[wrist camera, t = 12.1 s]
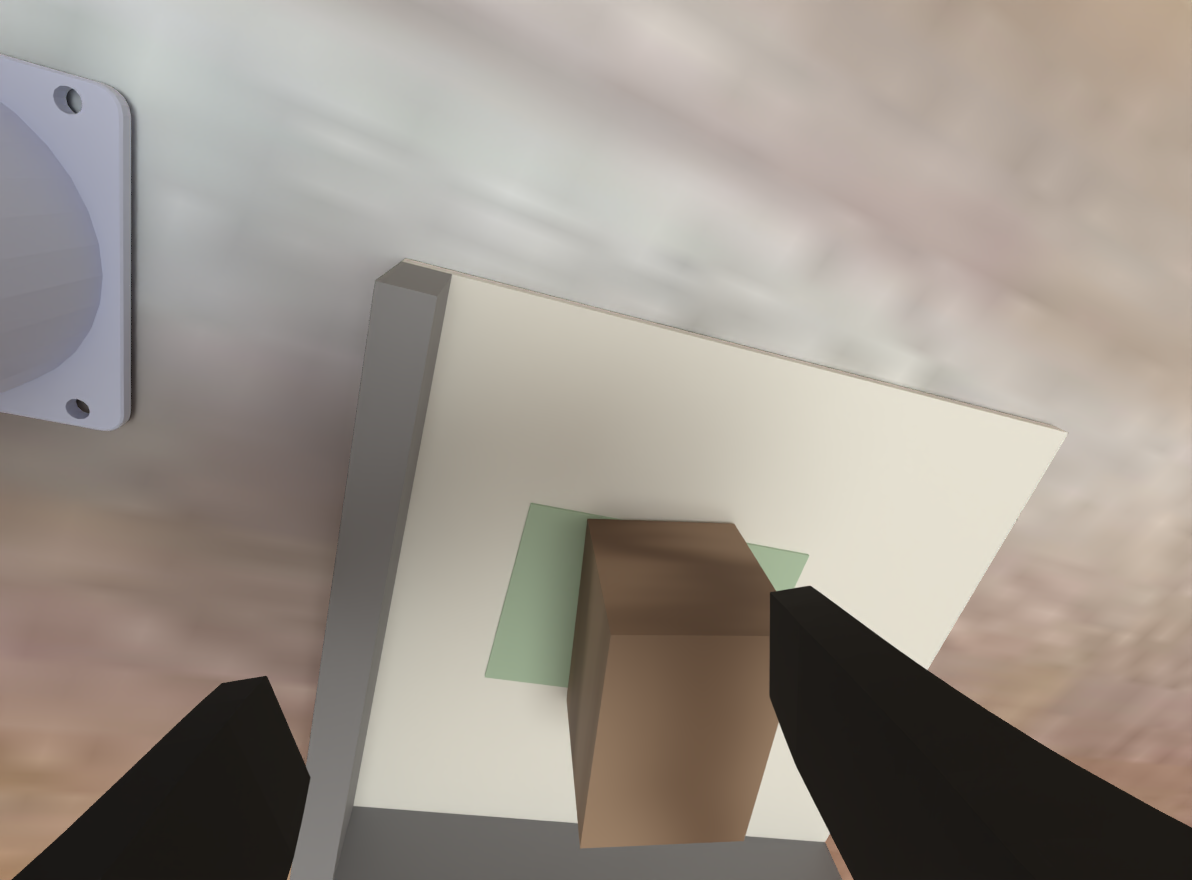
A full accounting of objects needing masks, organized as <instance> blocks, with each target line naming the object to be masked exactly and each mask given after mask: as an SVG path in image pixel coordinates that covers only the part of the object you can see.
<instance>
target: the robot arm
mask: <svg viewBox="0 0 1192 880" xmlns="http://www.w3.org/2000/svg"><path fill="white" fill-rule="evenodd" d="M71 89H74V90H75V91H76V92H77V93H78V94H79V96H80V98H81V101H82V108H81V111H80V112H78V113H77V114H76V113H74V112H73V111H72V110H71V109H70V108H69V106H68V104H67V101H66V96H67V92H68V91H69V90H71ZM76 399H78V400H81V401H83V402H84V403H85V404H86V405H87V406H88V407H89V410H90V413H86V412H83V411H82V410H81V409H80V408H79V407H78V406H77V403H76ZM0 412H2V413H7V414H13V415H18V416H24V417H29V418H35V419H40V420H46V421H51V422H57V423H62V424H67V425H73V426H78V427H84V428H89V429H95V430H100V431H112V430H115V429H117V428H119V427H121V426H122V425H124V424H125V423H126V422H127V421H128V420H129V418H130V414H131V114H130V108H129V105H128V104H127V102H126V100H125V98H124V97H123V96H122V95H121V94H120V93H119V92H118V91H117V90H116V89H115V88H113V87H111V86H109V85H106V84H104V83H101V82H97V81H94V80H90V79H87V78H83V77H80V76H76V75H73V74H69V73H66V72H62V71H59V70H55V69H52V68H48V67H45V66H42V65H38V64H35V63H31V62H28V61H24V60H21V59H17V58H14V57H10V56H7V55H3V54H0ZM769 697H770V700H771V702H772V705H773V708H774V711H775V713H776V716H777V719H778V721H779V724H780V727H781V729H782V732H783V735H784V737H785V740H786V742H787V745H788V747H789V750H790V753H791V755H792V758H793V760H794V763H795V765H796V767H797V769H798V771H799V773H800V775H801V777H802V779H803V781H804V783H805V785H806V787H807V789H808V791H809V793H810V795H811V797H812V799H813V801H814V803H815V805H816V807H817V809H818V811H819V813H820V815H821V817H822V819H823V821H824V823H825V825H826V827H827V829H828V830H829V832H830V834H831V836H832V838H833V840H834V842H835V844H836V846H837V848H838V850H839V852H840V854H841V856H842V858H843V860H844V862H845V864H846V865H847V867H848V869H849V871H850V873H851V875H852V877H853V879H854V880H1192V828H1191V827H1189V826H1188V825H1186V824H1184V823H1182V822H1180V821H1178V820H1176V819H1174V818H1172V817H1170V816H1168V815H1166V814H1165V813H1163V812H1161V811H1159V810H1157V809H1155V808H1153V807H1151V806H1150V805H1148V804H1146V803H1144V802H1142V801H1141V800H1139V799H1137V798H1135V797H1133V796H1132V795H1130V794H1128V793H1126V792H1124V791H1123V790H1121V789H1119V788H1117V787H1115V786H1114V785H1112V784H1110V783H1108V782H1106V781H1105V780H1103V779H1101V778H1099V777H1098V776H1096V775H1094V774H1092V773H1090V772H1089V771H1087V770H1085V769H1083V768H1081V767H1080V766H1078V765H1076V764H1074V763H1073V762H1071V761H1069V760H1068V759H1066V758H1064V757H1062V756H1061V755H1059V754H1057V753H1056V752H1054V751H1052V750H1051V749H1049V748H1047V747H1046V746H1044V745H1042V744H1041V743H1039V742H1037V741H1036V740H1034V739H1033V738H1031V737H1029V736H1028V735H1026V734H1025V733H1023V732H1021V731H1020V730H1018V729H1017V728H1015V727H1013V726H1012V725H1010V724H1009V723H1007V722H1005V721H1004V720H1002V719H1001V718H999V717H997V716H996V715H994V714H993V713H991V712H989V711H988V710H986V709H985V708H983V707H982V706H980V705H979V704H977V703H976V702H974V701H973V700H971V699H969V698H968V697H966V696H965V695H963V694H962V693H960V692H959V691H957V690H956V689H954V688H953V687H951V686H950V685H948V684H947V683H945V682H944V681H943V680H941V679H940V678H938V677H937V676H935V675H934V674H932V673H931V672H929V671H928V670H927V669H925V668H924V667H922V666H921V665H919V664H918V663H916V662H915V661H914V660H912V659H911V658H909V657H908V656H907V655H905V654H904V653H902V652H901V651H900V650H898V649H897V648H895V647H894V646H893V645H891V644H890V643H888V642H887V641H886V640H884V639H883V638H882V637H880V636H879V635H877V634H876V633H875V632H873V631H872V630H871V629H869V628H868V627H866V626H865V625H864V624H862V623H861V622H860V621H858V620H857V619H856V618H854V617H853V616H851V615H850V614H849V613H847V612H846V611H845V610H843V609H842V608H841V607H839V606H838V605H837V604H835V603H834V602H833V601H831V600H830V599H828V598H827V597H826V596H824V595H823V594H822V593H820V592H819V591H817V590H816V589H815V588H813V587H812V586H804V587H798V588H792V589H786V590H780V591H774V592H770V666H769ZM310 778H311V777H310V775H309V773H308V770H307V768H306V766H305V763H304V761H303V759H302V756H301V754H300V752H299V749H298V747H297V745H296V742H295V740H294V738H293V736H292V733H291V731H290V729H289V726H288V724H287V722H286V719H285V717H284V715H283V712H282V710H281V708H280V705H279V703H278V701H277V698H276V696H275V694H274V691H273V689H272V687H271V684H270V682H269V680H268V678H267V676H263V677H257V678H251V679H245V680H238V681H232V682H226V683H222V684H221V685H219V686H218V687H217V688H216V689H215V690H214V691H213V692H211V693H210V694H209V695H208V696H207V697H206V698H205V699H204V700H202V701H201V702H200V703H199V704H198V705H197V706H196V707H195V708H194V709H193V710H192V711H191V712H190V713H188V714H187V715H186V716H185V717H184V718H183V719H182V720H181V721H180V722H179V723H178V724H177V725H176V726H175V727H174V728H173V729H172V730H171V731H170V732H168V733H167V734H166V735H165V736H164V737H163V738H162V739H161V740H160V741H159V742H158V743H157V744H156V745H155V746H154V747H153V748H152V749H151V750H150V751H149V752H148V753H147V754H146V755H145V756H144V757H142V758H141V759H140V760H139V761H138V762H137V763H136V764H135V765H134V766H133V767H132V768H131V769H130V770H129V771H128V772H127V773H126V774H125V775H124V776H123V777H122V778H121V779H119V780H118V781H117V782H116V783H115V784H114V785H113V786H112V787H111V788H110V789H109V790H108V791H107V792H106V793H105V794H104V795H103V796H102V797H101V798H99V799H98V800H97V801H96V802H95V803H94V804H93V805H92V806H91V807H90V808H89V809H88V810H87V811H86V812H85V813H84V814H83V815H82V816H81V817H80V818H78V819H77V820H76V821H75V822H74V823H73V824H72V825H71V826H70V827H69V828H68V829H67V830H66V831H65V832H64V833H63V834H62V835H60V836H59V837H58V838H57V839H56V840H55V841H54V842H53V843H52V844H51V845H50V846H48V847H47V848H46V849H45V850H44V851H43V852H42V853H41V854H40V855H38V856H37V857H36V858H35V859H34V860H33V861H32V862H31V863H30V864H28V865H27V866H26V867H25V868H24V869H23V870H22V871H21V872H20V873H18V874H17V875H16V876H15V877H14V878H13V879H12V880H287V877H288V874H289V871H290V868H291V865H292V862H293V858H294V854H295V850H296V846H297V841H298V837H299V832H300V828H301V824H302V819H303V814H304V809H305V804H306V799H307V794H308V789H309V784H310Z"/></svg>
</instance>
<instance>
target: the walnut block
mask: <svg viewBox="0 0 1192 880" xmlns="http://www.w3.org/2000/svg"><path fill="white" fill-rule="evenodd" d="M774 591H776V590H775V588H774V587H773V585H772V584H771V582H770V580H769V579H768V577H767V575H766V574H765V572H764V571H763V569H762V567H761V566H760V564H759V563H758V561H757V559H756V558H755V556H754V555H753V553H752V551H751V550H750V548H749V546H748V545H747V543H746V542H745V540H744V538H743V537H742V535H741V534H740V532H739V530H738V529H737V527H736V525H735V524H730V523H701V522H672V521H644V520H615V519H587V527H586V535H585V544H584V553H583V561H582V570H581V579H580V587H579V596H578V605H577V613H576V622H575V630H574V639H573V648H572V656H571V665H570V674H569V682H568V691H567V711H568V722H569V733H570V744H571V755H572V766H573V777H574V788H575V799H576V810H577V821H578V832H579V843H580V848H601V847H624V846H646V845H668V844H691V843H713V842H735V841H744V839H745V836H746V832H747V829H748V825H749V822H750V819H751V815H752V812H753V808H754V805H755V802H756V798H757V795H758V791H759V788H760V785H761V781H762V778H763V774H764V771H765V768H766V764H767V761H768V757H769V754H770V751H771V747H772V744H773V740H774V737H775V734H776V730H777V727H778V723H779V721H778V719H777V716H776V713H775V711H774V708H773V705H772V702H771V700H770V697H769V666H770V592H774Z"/></svg>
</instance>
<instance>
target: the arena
mask: <svg viewBox="0 0 1192 880" xmlns="http://www.w3.org/2000/svg"><path fill="white" fill-rule="evenodd" d="M1067 434H1068V433H1067V432H1065V431H1063V430H1061V429H1059V428H1057V427H1055V426H1052V425H1048V424H1045V423H1041V422H1037V421H1033V420H1029V419H1025V418H1021V417H1017V416H1014V415H1010V414H1006V413H1002V412H998V411H994V410H990V409H987V408H983V407H979V406H975V405H971V404H967V403H963V402H959V401H956V400H952V399H948V398H944V397H940V396H936V395H932V394H929V393H925V392H921V391H917V390H913V389H909V388H905V387H902V386H898V385H894V384H890V383H886V382H882V381H878V380H874V379H871V378H867V377H863V376H859V375H855V374H851V373H847V372H844V371H840V370H836V369H832V368H828V367H824V366H820V365H816V364H813V363H809V362H805V361H801V360H797V359H793V358H789V357H786V356H782V355H778V354H774V353H770V352H766V351H762V350H759V349H755V348H751V347H747V346H743V345H739V344H735V343H731V342H728V341H724V340H720V339H716V338H712V337H708V336H704V335H701V334H697V333H693V332H689V331H685V330H681V329H677V328H673V327H670V326H666V325H662V324H658V323H654V322H650V321H646V320H643V319H639V318H635V317H631V316H627V315H623V314H619V313H615V312H612V311H608V310H604V309H600V308H596V307H592V306H588V305H585V304H581V303H577V302H573V301H569V300H565V299H561V298H558V297H554V296H550V295H546V294H542V293H538V292H534V291H530V290H527V289H523V288H519V287H515V286H511V285H507V284H503V283H500V282H496V281H492V280H488V279H484V278H480V277H476V276H472V275H469V274H465V273H461V272H457V271H453V270H449V269H445V268H442V267H438V266H434V265H430V264H426V263H422V262H418V261H414V260H411V259H407V258H406V259H404V260H403V261H401V262H400V263H399V264H397V265H396V266H395V267H393V268H392V269H391V270H389V271H388V272H386V273H385V274H384V275H382V276H381V277H380V278H378V279H377V280H376V281H375V285H374V292H373V299H372V306H371V313H370V320H369V327H368V334H367V341H366V348H365V355H364V362H363V369H362V376H361V383H360V390H359V397H358V404H357V411H356V418H355V426H354V433H353V440H352V447H351V454H350V461H349V468H348V475H347V482H346V489H345V496H344V503H343V510H342V517H341V524H340V531H339V538H338V545H337V552H336V559H335V566H334V573H333V580H332V587H331V594H330V602H329V609H328V616H327V623H326V630H325V637H324V644H323V651H322V658H321V665H320V672H319V679H318V686H317V693H316V700H315V707H314V714H313V721H312V728H311V735H310V742H309V749H308V756H307V763H306V768H307V770H308V773H309V775H310V777H311V778H310V784H309V789H308V794H307V799H306V804H305V809H304V814H303V819H302V824H301V828H300V832H299V837H298V841H297V846H296V850H295V854H294V858H293V862H292V869H291V876H290V880H842V878H841V876H840V874H839V872H838V870H837V867H836V865H835V863H834V861H833V859H832V857H831V854H830V852H829V850H828V848H827V846H826V844H825V841H826V839H827V838H828V836H829V834H830V832H829V830H828V829H827V827H826V825H825V823H824V821H823V819H822V817H821V815H820V813H819V811H818V809H817V807H816V805H815V803H814V801H813V799H812V797H811V795H810V793H809V791H808V789H807V787H806V785H805V783H804V781H803V779H802V777H801V775H800V773H799V771H798V769H797V767H796V765H795V763H794V760H793V758H792V755H791V753H790V750H789V747H788V745H787V742H786V740H785V737H784V735H783V732H782V729H781V727H780V724H779V723H778V727H777V730H776V734H775V737H774V740H773V744H772V747H771V751H770V754H769V757H768V761H767V764H766V768H765V771H764V774H763V778H762V781H761V785H760V788H759V791H758V795H757V798H756V802H755V805H754V808H753V812H752V815H751V819H750V822H749V825H748V829H747V832H746V836H745V839H744V841H735V842H713V843H691V844H668V845H646V846H624V847H601V848H580V843H579V832H578V821H577V810H576V799H575V788H574V777H573V766H572V755H571V744H570V733H569V722H568V711H567V691H568V682H569V674H570V665H571V656H572V648H573V639H574V630H575V622H576V613H577V605H578V596H579V587H580V579H581V570H582V561H583V553H584V544H585V535H586V527H587V519H615V520H644V521H672V522H701V523H730V524H735V525H736V527H737V529H738V530H739V532H740V534H741V535H742V537H743V538H744V540H745V542H746V543H747V545H748V546H749V548H750V550H751V551H752V553H753V555H754V556H755V558H756V559H757V561H758V563H759V564H760V566H761V567H762V569H763V571H764V572H765V574H766V575H767V577H768V579H769V580H770V582H771V584H772V585H773V587H774V588H775V590H776V591H780V590H786V589H792V588H798V587H804V586H812V587H813V588H815V589H816V590H817V591H819V592H820V593H822V594H823V595H824V596H826V597H827V598H828V599H830V600H831V601H833V602H834V603H835V604H837V605H838V606H839V607H841V608H842V609H843V610H845V611H846V612H847V613H849V614H850V615H851V616H853V617H854V618H856V619H857V620H858V621H860V622H861V623H862V624H864V625H865V626H866V627H868V628H869V629H871V630H872V631H873V632H875V633H876V634H877V635H879V636H880V637H882V638H883V639H884V640H886V641H887V642H888V643H890V644H891V645H893V646H894V647H895V648H897V649H898V650H900V651H901V652H902V653H904V654H905V655H907V656H908V657H909V658H911V659H912V660H914V661H915V662H916V663H918V664H919V665H921V666H922V667H924V668H925V669H927V670H928V668H929V666H930V665H931V663H932V661H933V659H934V658H935V656H936V654H937V653H938V651H939V649H940V648H941V646H942V644H943V643H944V641H945V639H946V638H947V636H948V634H949V633H950V631H951V629H952V628H953V626H954V624H955V622H956V621H957V619H958V617H959V616H960V614H961V612H962V611H963V609H964V607H965V606H966V604H967V602H968V601H969V599H970V597H971V596H972V594H973V592H974V591H975V589H976V587H977V585H978V584H979V582H980V580H981V579H982V577H983V575H984V574H985V572H986V570H987V569H988V567H989V565H990V564H991V562H992V560H993V559H994V557H995V555H996V554H997V552H998V550H999V549H1000V547H1001V545H1002V543H1003V542H1004V540H1005V538H1006V537H1007V535H1008V533H1009V532H1010V530H1011V528H1012V527H1013V525H1014V523H1015V522H1016V520H1017V518H1018V517H1019V515H1020V513H1021V512H1022V510H1023V508H1024V506H1025V505H1026V503H1027V501H1028V500H1029V498H1030V496H1031V495H1032V493H1033V491H1034V490H1035V488H1036V486H1037V485H1038V483H1039V481H1040V480H1041V478H1042V476H1043V475H1044V473H1045V471H1046V469H1047V468H1048V466H1049V464H1050V463H1051V461H1052V459H1053V458H1054V456H1055V454H1056V453H1057V451H1058V449H1059V448H1060V446H1061V444H1062V443H1063V441H1064V439H1065V438H1066V436H1067Z"/></svg>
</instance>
